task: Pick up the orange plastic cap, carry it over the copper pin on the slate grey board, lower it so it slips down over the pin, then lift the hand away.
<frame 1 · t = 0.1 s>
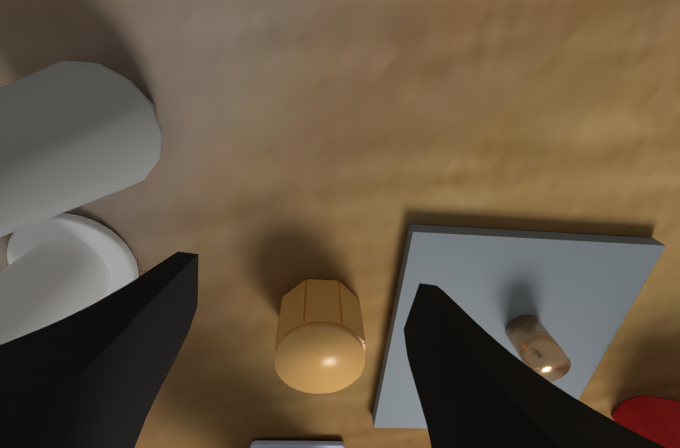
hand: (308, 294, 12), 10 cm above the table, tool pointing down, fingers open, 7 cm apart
cap: (320, 310, 25), on the table
board: (494, 338, 27), on the table
salt shaker: (121, 119, 19), on the table
copper pin: (515, 317, 26), resting on board
french fries: (643, 410, 32), on the table
candle: (81, 261, 23), on the table
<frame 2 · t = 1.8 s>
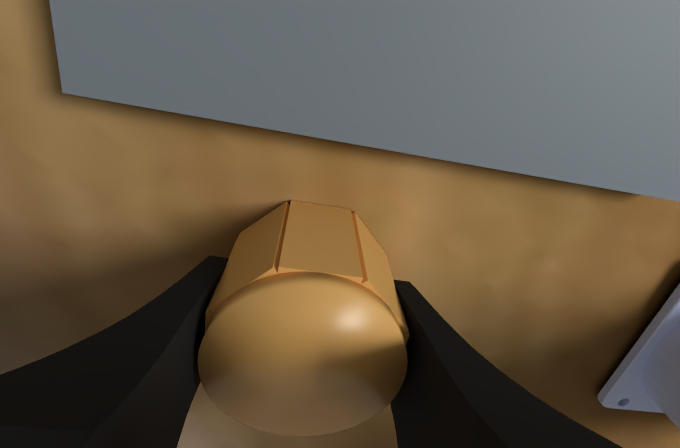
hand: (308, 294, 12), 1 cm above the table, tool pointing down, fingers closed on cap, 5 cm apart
cap: (309, 269, 13), on the table, touching gripper
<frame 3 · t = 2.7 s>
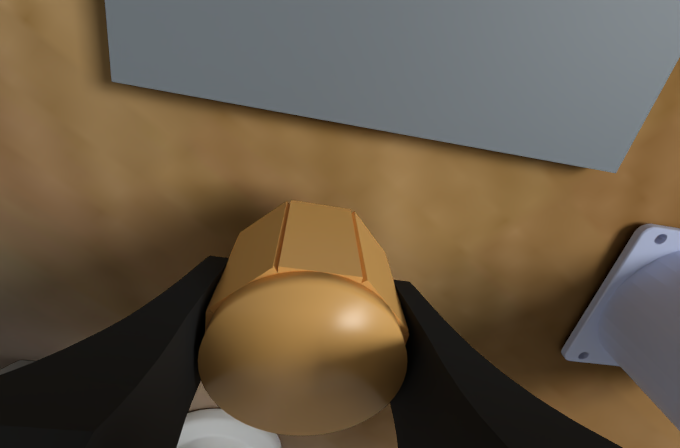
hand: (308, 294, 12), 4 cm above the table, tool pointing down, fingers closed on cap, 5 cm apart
cap: (309, 269, 13), point 3 cm above the table, touching gripper
candle: (222, 442, 22), on the table
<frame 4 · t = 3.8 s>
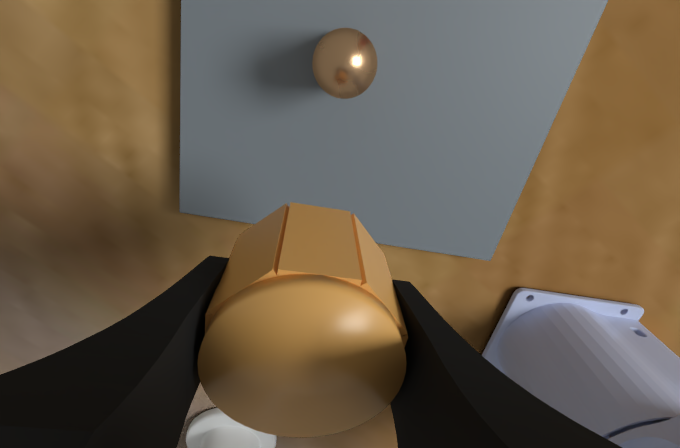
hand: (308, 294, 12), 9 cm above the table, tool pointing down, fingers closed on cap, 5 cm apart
cap: (309, 271, 13), point 8 cm above the table, touching gripper
board: (375, 89, 18), on the table
copper pin: (339, 59, 17), resting on board
candle: (233, 431, 30), on the table
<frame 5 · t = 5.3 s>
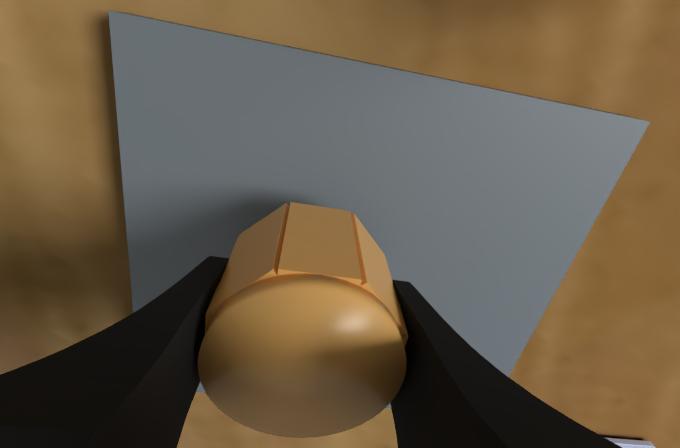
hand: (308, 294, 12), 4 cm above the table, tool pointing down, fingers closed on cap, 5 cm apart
cap: (309, 271, 13), point 3 cm above the table, touching gripper
board: (352, 262, 16), on the table
when the fingers open (4 cm above the table, at t = 6.2 s): cap drops 1 cm, resting on board.
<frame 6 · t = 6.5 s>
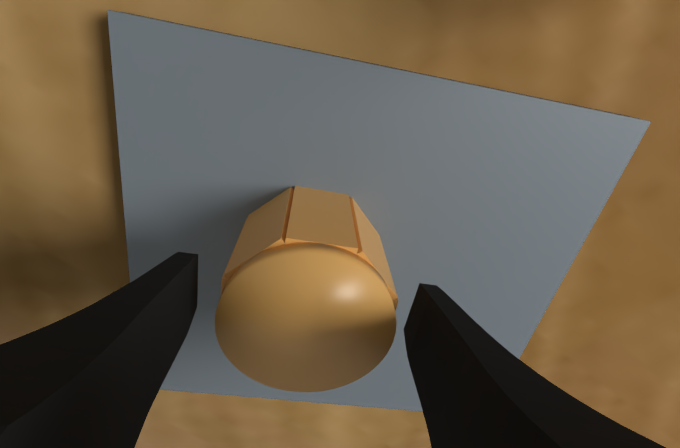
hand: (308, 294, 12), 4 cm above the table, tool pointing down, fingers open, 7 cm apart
cap: (310, 250, 14), point 1 cm above the table, touching board
board: (352, 262, 16), on the table
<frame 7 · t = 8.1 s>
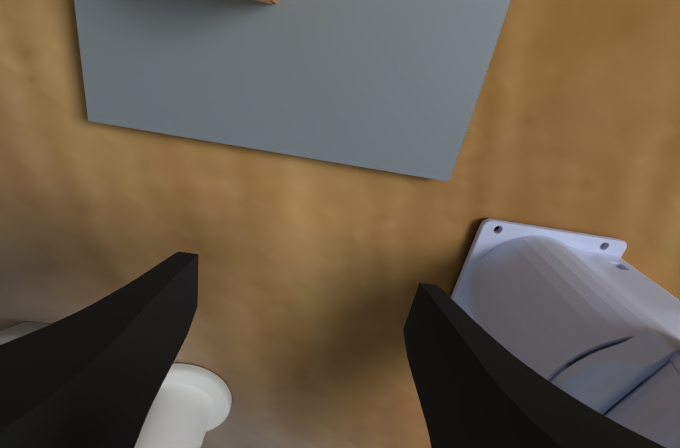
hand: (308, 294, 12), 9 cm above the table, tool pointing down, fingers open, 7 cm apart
salt shaker: (47, 341, 25), on the table
candle: (185, 393, 27), on the table
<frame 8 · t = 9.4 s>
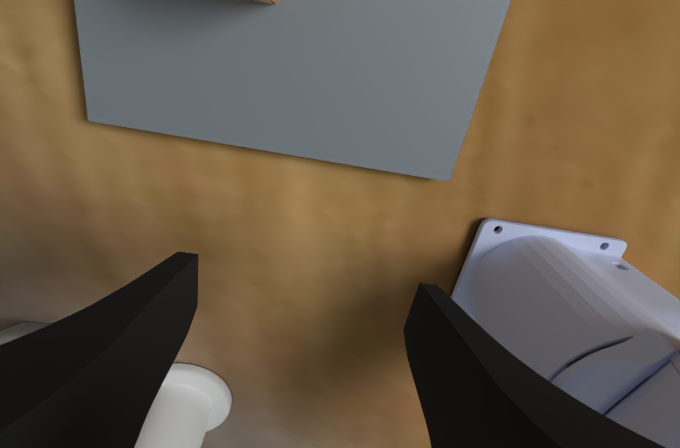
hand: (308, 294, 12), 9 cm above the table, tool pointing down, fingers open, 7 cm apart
salt shaker: (47, 341, 25), on the table
candle: (185, 393, 27), on the table
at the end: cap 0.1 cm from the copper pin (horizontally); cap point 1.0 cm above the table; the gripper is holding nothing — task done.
